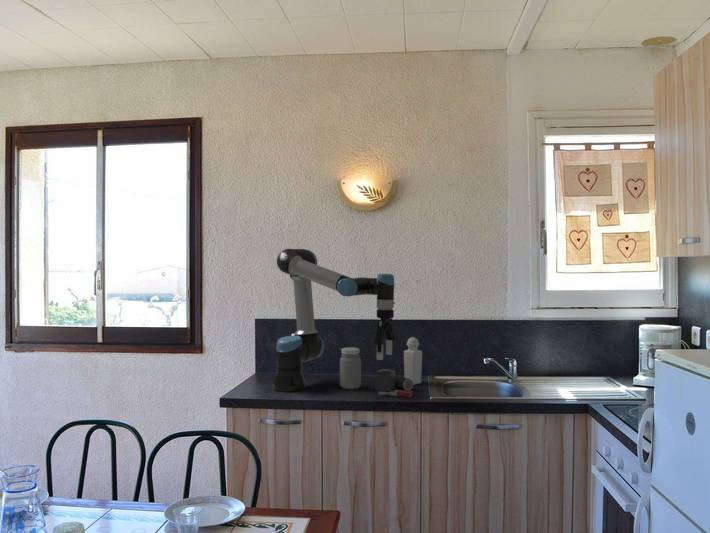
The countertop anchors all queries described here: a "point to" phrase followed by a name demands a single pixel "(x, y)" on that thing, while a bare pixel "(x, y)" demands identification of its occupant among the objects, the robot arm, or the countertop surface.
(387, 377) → the speaker cube
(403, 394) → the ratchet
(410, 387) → the flashlight
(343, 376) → the jar
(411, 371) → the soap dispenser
